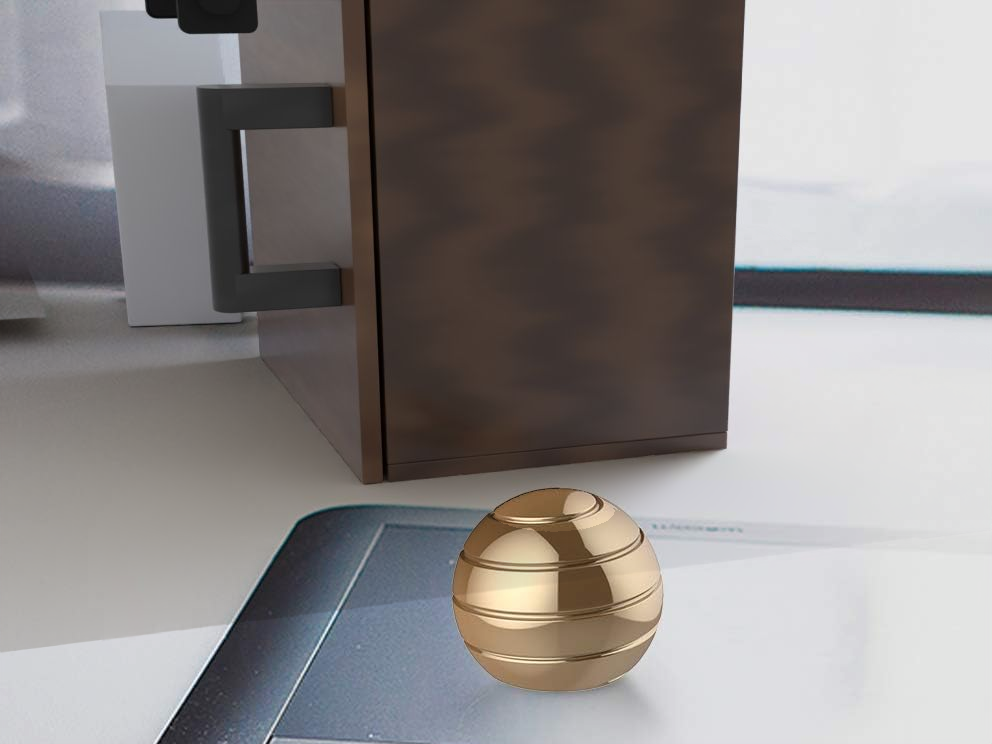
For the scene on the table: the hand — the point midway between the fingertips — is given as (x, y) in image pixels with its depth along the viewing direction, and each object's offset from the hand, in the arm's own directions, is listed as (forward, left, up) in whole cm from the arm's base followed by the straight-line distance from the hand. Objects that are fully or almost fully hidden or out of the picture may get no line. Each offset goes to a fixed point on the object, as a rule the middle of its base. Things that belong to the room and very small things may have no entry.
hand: (199, 24), depth 77 cm
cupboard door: (+3, +10, -21) cm, 23 cm away
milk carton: (+3, +36, -21) cm, 41 cm away
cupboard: (+16, +10, -21) cm, 28 cm away
